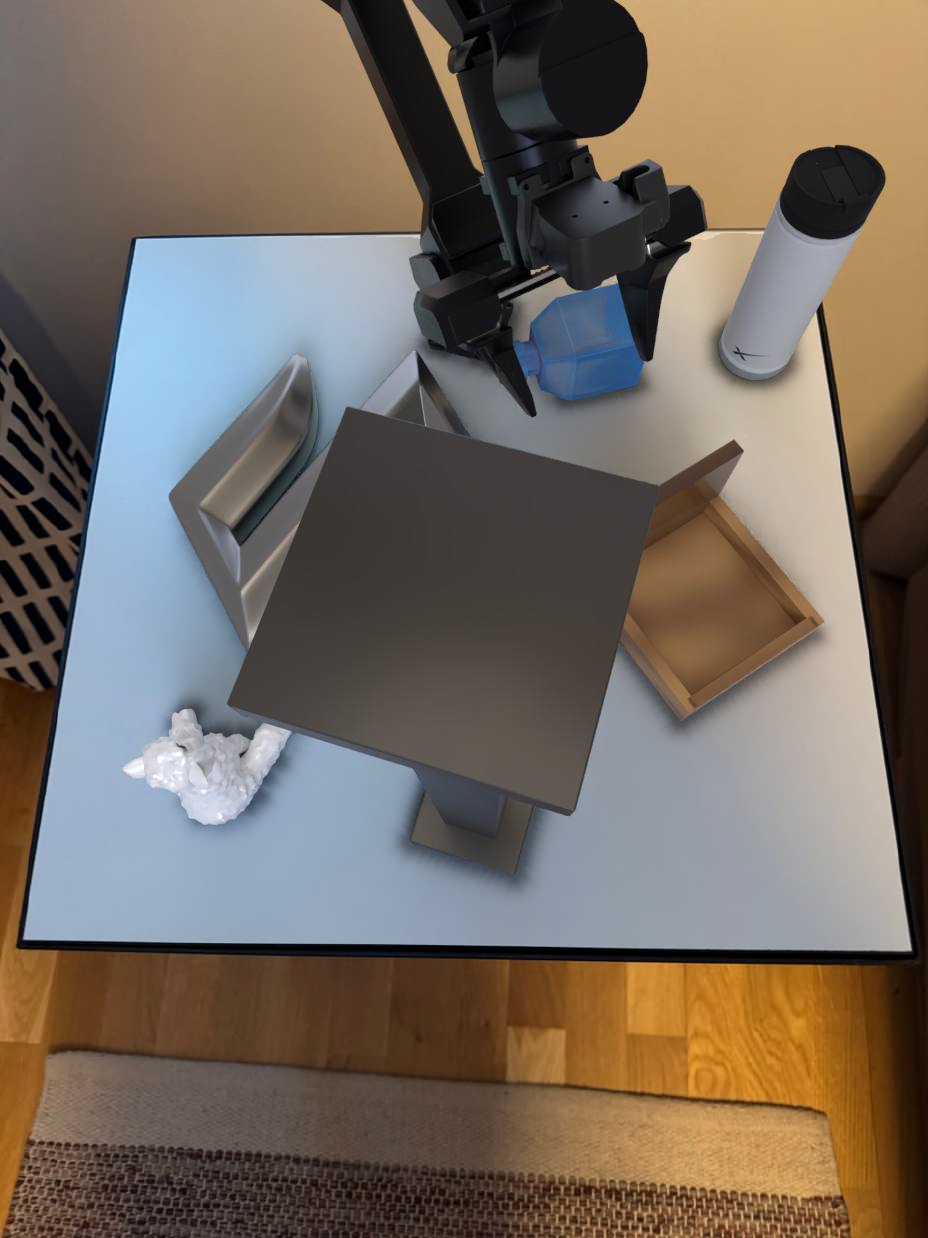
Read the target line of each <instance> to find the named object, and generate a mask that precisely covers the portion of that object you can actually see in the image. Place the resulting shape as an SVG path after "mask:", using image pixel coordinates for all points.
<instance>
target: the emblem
mask: <svg viewBox="0 0 928 1238" xmlns="http://www.w3.org/2000/svg"><path fill="white" fill-rule="evenodd" d="M318 406H319V405H318V398H317V391H316V385H315V380H314V375H313V372H312V367H311V365H310V362H309V359H308V357H307V356H305V355H302V354H300V353H295V354H293V355H292V356H291V357H290V358H289V359H288V360H287V361H286V362H285V364H283V366H282V367H281V368H280V370H278V371H277V373H276V374H275V376H273V378H272V379H271V380H270V381H269V383H267V385H266V386H265V387H264V388H263V389H262V390H261V391H260V392H259V393H258V394H257V396H255V398H254V399H253V400H252V401H251V402H250V403H249V404H248V405H247V406H246V407H245V408H244V409H243V410H242V411H241V413H240V414H239V415H238V416H237V417H236V418H235V419H234V420H233V421H232V422H231V424H230V425H229V426H228V427H227V428H226V429H225V430H224V431H223V432H222V433H221V435H219V437H218V438H217V439H216V440H215V441H214V442H213V443H212V445H211V446H210V447H208V449H207V450H206V451H205V452H204V453H203V455H201V457H200V458H199V459H198V460H197V461H196V462H195V463H194V465H192V467H191V468H190V469H189V470H188V471H187V472H186V473H185V474H184V475H183V477H182V478H181V479H180V480H179V481H178V482H177V483H176V484H175V485H174V486H173V487H172V489H171V490H170V491H169V493H168V501H169V504H170V506H171V508H172V510H173V512H174V514H175V516H176V519H177V520H178V522H179V524H180V526H181V528H182V530H183V532H184V534H185V536H186V538H187V540H188V542H189V543H190V546H191V547H192V550H193V551H194V553H195V555H196V557H197V560H198V561H199V563H200V566H201V567H202V569H203V571H204V572H205V575H206V576H207V578H208V581H209V582H210V585H211V586H212V588H213V590H214V592H215V594H216V596H217V598H218V600H219V602H220V604H221V606H222V608H223V610H224V611H225V613H226V616H227V617H228V619H229V622H230V624H231V625H232V627H233V629H234V631H235V632H236V635H237V636H238V639H239V640H240V642H241V644H242V647H243V648H244V649H245V651H246V653H247V652H248V650H249V647H250V645H251V642H252V640H253V637H254V635H255V632H256V630H257V627H258V625H259V622H260V620H261V617H262V615H263V612H264V610H265V608H266V605H267V603H268V600H269V598H270V595H271V593H272V590H273V588H274V585H275V583H276V580H277V578H278V575H279V573H280V570H281V568H282V565H283V563H284V560H285V558H286V555H287V553H288V550H289V548H290V546H291V543H292V541H293V538H294V536H295V533H296V531H297V528H298V526H299V523H300V521H301V518H302V516H303V513H304V511H305V508H306V506H307V503H308V501H309V498H310V496H311V493H312V491H313V489H314V486H315V484H316V481H317V479H318V476H319V474H320V471H321V469H322V466H323V464H324V461H325V459H326V456H327V454H328V451H329V449H330V446H331V444H332V441H333V439H334V436H333V437H332V438H331V440H330V441H329V442H328V443H327V444H326V445H325V447H324V448H323V449H322V450H321V451H320V452H319V453H318V454H317V456H316V457H315V458H314V459H313V460H312V461H311V462H310V463H309V465H308V466H307V467H306V468H305V469H304V470H303V472H302V473H301V474H299V473H300V471H301V470H302V469H303V467H304V466H305V464H306V462H307V461H308V459H309V457H310V455H311V453H312V452H313V451H312V450H313V448H314V445H315V442H316V439H317V438H316V437H317V433H318V426H319V407H318ZM358 409H361V410H365V411H369V412H373V413H377V414H380V415H384V416H388V417H392V418H396V419H400V420H404V421H408V422H412V423H416V424H420V425H424V426H428V427H432V428H435V429H439V430H443V431H447V432H451V433H455V434H459V435H463V436H467V437H471V438H472V436H471V435H470V433H469V431H468V430H467V428H466V427H465V425H464V424H463V422H462V420H461V419H460V417H459V415H458V414H457V412H456V411H455V409H454V408H453V405H452V404H451V403H450V401H449V399H448V398H447V396H446V394H445V393H444V391H443V389H442V388H441V386H440V385H439V383H438V382H437V380H436V378H435V376H434V375H433V373H432V372H431V370H430V368H429V367H428V365H427V364H426V362H425V360H424V359H423V358H422V355H420V353H419V352H418V350H417V349H413V350H411V351H410V352H409V353H408V354H407V355H406V356H405V357H404V359H403V360H401V362H400V363H399V364H398V365H397V366H396V367H395V368H394V370H393V371H392V372H390V373H389V375H388V376H387V377H386V378H385V380H384V381H383V382H382V383H380V385H379V386H378V387H377V389H375V391H374V392H373V393H372V394H371V395H370V396H369V397H368V398H367V400H365V402H364V403H363V404H362V405H361V406H360V407H359V408H358ZM298 474H299V476H298ZM297 476H298V477H297ZM296 477H297V478H296ZM295 478H296V480H295ZM294 480H295V481H294ZM293 481H294V482H293ZM292 482H293V483H292ZM289 486H290V487H289ZM283 493H284V494H283Z"/></svg>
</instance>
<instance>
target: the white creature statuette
mask: <svg viewBox="0 0 928 1238" xmlns="http://www.w3.org/2000/svg"><path fill="white" fill-rule="evenodd" d="M254 732H255V733H254V735H253V739H249V738H248V737H246V736H244V735H242V734H241V733H233V734H231V735H230V736H228V737H227V736H224V733H222V732H219V733H214V732H210V733H208V734H206V735H204V732H203V727H202V725H201V724H199V722H198V718H197V715H196V712H195V710H194V709H193V708H185V709H182V710H180V711H179V713H178V712H176V711H175V712H173V713H172V716H171V728H170V729H169V730H168V735H169V736H158V737H157V738H155V739H153V740H151V741H149V742H147V743H145V744H143V747H142V748H141V751H140V752H141V754H142V756H140V757H137V758H135V759H132V760H130V761H129V762H127V763H125V764H124V765H123V767H122V771H123V773H125V774H127V775H128V776H130V778H132V779H135V780H140V779H144V778H145V781H146V783H147V785H149V787H151V788H152V789H156V788H160V789H164V790H167V791H169V792H170V793H172V794H176V795H177V796H178V798H179V800H180V805H181V807H182V808H184V809H185V812H186V814H187V816H188V819H190V820H191V819H192V820H195V821H197V822H198V823H201V824H202V825H203V826H206V825H207V826H208V825H213V826H218V825H224V824H226V823H227V822H228V821H230V820H235V819H237V817H238V816H239V814H240V813H242V812H244V811H245V810H246V808H247V807H248V806H249V805H250V803H251V801H253V799H254V795H255V794H257V793H258V791H259V789H260V788H261V787H260V786H261V785H262V784H264V783H263V780H264V779H265V777H266V776H268V775H269V772H270V771H271V769H272V767H273V765H275V764H276V762H277V760H278V759H279V757H280V756H281V751H282V750H283V749H285V748H286V745H287V740H288V739H289V737H290V736H291V735H292V733H293V732H292V731H289V730H285V729H282V728H279V727H276V726H272V725H269V724H266V723H263V722H262V724H260V726H259V727H258V728H257V729H255V731H254Z"/></svg>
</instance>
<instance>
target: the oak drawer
mask: <svg viewBox="0 0 928 1238" xmlns="http://www.w3.org/2000/svg"><path fill="white" fill-rule="evenodd" d="M744 452H745V450H744V449H743V448H742V447H741V445H740V444H739V443H738V442H737V441H736V439H732V440H730V441H728V442H727V443H725V444H723V445H722V446H721V447H719V448H717V449H716V450H714V451H712V452H711V453H709V454H707V455H706V456H704V457H703V458H701V459H700V460H698V461H696V462H695V463H693V464H692V465H689V466H688V467H687V468H685V469H683V470H681V471H680V472H679V473H677V474H675V475H674V476H672V477H670V478H669V479H667V480H665V481H664V482H663V483H661V484H660V485H659V487H660V488H659V492H658V496H657V500H656V503H655V507H654V511H653V515H652V519H651V523H650V526H649V530H648V534H647V538H646V542H645V546H644V549H643V553H642V557H641V561H640V565H639V569H638V572H637V576H636V580H635V584H634V588H633V592H632V596H631V599H630V603H629V607H628V611H627V615H626V619H625V622H624V626H623V630H622V634H621V638H620V642H619V643H621V645H622V646H623V647H624V648H625V650H626V652H628V654H629V655H630V657H631V658H632V659H633V661H634V662H635V663H636V664H637V666H638V667H639V668H640V670H641V671H642V673H643V674H644V676H645V677H646V678H647V679H648V681H649V682H650V683H651V685H652V686H653V687H654V689H655V690H656V691H657V692H658V694H659V695H660V696H661V698H662V700H663V701H664V702H665V703H666V704H667V706H668V707H669V709H670V710H671V711H672V713H673V714H674V715H675V716H676V719H678V721H679V722H682V721H684V720H685V719H686V718H689V717H690V716H691V715H693V714H694V713H696V712H698V711H699V710H700V709H701V708H703V707H704V706H706V705H708V704H709V703H710V702H712V701H713V700H715V699H716V698H717V697H719V696H720V695H722V694H723V693H725V692H726V691H728V690H729V689H731V688H732V687H734V686H735V685H737V684H738V683H740V682H741V681H743V680H744V679H746V678H747V677H749V676H750V675H751V674H753V673H755V672H756V671H758V670H759V669H760V668H762V667H763V666H765V665H766V664H768V663H769V662H771V661H772V660H774V659H775V658H777V657H778V656H780V655H781V654H783V653H784V652H786V651H787V650H788V649H790V648H791V647H793V646H794V645H796V644H798V643H799V642H801V641H802V640H803V639H805V638H806V637H808V636H810V635H811V634H812V633H813V632H815V631H816V630H817V629H818V628H819V627H820V626H822V625H824V624H825V619H823V617H822V616H821V615H820V614H819V613H818V611H817V610H816V609H815V608H814V607H813V605H812V604H811V603H810V602H809V600H807V598H806V597H805V596H804V594H802V592H801V591H800V590H799V589H798V587H797V586H796V585H795V584H794V583H793V582H792V581H791V579H790V578H789V577H788V576H787V574H785V572H784V570H782V569H781V567H780V566H779V565H778V564H777V563H776V561H775V560H774V558H772V557H771V555H770V554H769V553H768V552H767V550H765V548H764V547H763V546H762V544H760V542H759V541H758V540H757V539H756V538H755V536H754V535H753V533H752V532H751V531H750V530H749V529H748V528H747V527H746V526H745V525H744V523H743V522H742V521H741V519H739V517H738V516H737V515H736V514H735V513H734V512H733V510H732V509H731V508H730V507H729V506H728V504H727V503H726V502H725V500H723V498H722V497H721V496H720V495H721V493H722V491H723V490H724V488H725V486H726V484H727V483H728V481H729V480H730V477H731V476H732V473H733V472H734V470H735V468H736V467H737V465H738V463H739V461H740V460H741V458H742V456H743V454H744Z"/></svg>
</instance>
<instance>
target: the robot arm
mask: <svg viewBox="0 0 928 1238" xmlns="http://www.w3.org/2000/svg"><path fill="white" fill-rule="evenodd" d="M320 1H321V2H322V3H324V4H325V5H326V6H328V7H329V8H331V9H332V10H333V11H335V12H336V13H338V14H339V15H340V17H341V19H342V21H343V24H344V25H345V28H346V30H347V33H348V35H349V37H350V39H351V41H352V44H353V46H354V48H355V50H356V53H357V55H358V58H359V60H360V62H361V64H362V67H363V69H364V71H365V73H366V76H367V79H368V80H369V82H370V85H371V87H372V88H373V92H374V94H375V97H376V98H377V100H378V103H379V104H380V107H381V109H382V112H383V115H384V117H385V119H386V122H387V123H388V126H389V129H390V130H391V132H392V135H393V137H394V139H395V141H396V144H397V146H398V148H399V151H400V153H401V155H402V158H403V160H404V162H405V164H406V167H407V169H408V171H409V174H410V177H411V178H412V181H413V183H414V184H415V187H416V190H417V192H418V194H419V196H420V199H421V202H422V209H421V210H422V212H421V224H420V233H419V234H420V235H419V246H420V249H421V251H422V252H419V253H417V254H415V255H413V256H411V257H408V262H409V266H410V270H411V273H412V277H413V280H414V283H415V284H416V286H417V287H418V289H419V290H417V291H416V293H415V296H414V300H413V303H412V307H413V314H414V316H415V319H416V322H417V324H418V328H419V330H420V332H421V336H423V337H425V338H427V345H428V347H429V348H430V349H432V350H433V349H434V350H437V351H442V352H446V353H447V354H450V355H454V356H455V355H456V356H459V357H464V358H467V359H475V360H478V361H481V362H482V361H483V362H484V364H485V365H486V366H487V367H488V368H489V369H490V370H491V372H492V373H493V374H494V375H495V376H496V378H497V379H498V381H499V380H500V382H501V383H502V384H501V385H502V386H503V387H504V388H505V390H506V391H507V392H508V393H509V394H510V396H511V397H512V398H513V400H514V401H515V402H516V403H517V405H518V406H519V407H520V409H522V411H523V412H524V413H525V415H526V416H528V417H530V418H531V419H533V418H535V417H537V416H538V412H537V407H536V404H535V400H534V396H533V393H532V391H531V387H530V386H529V383H528V379H527V380H526V378H525V375H524V373H523V370H522V367H521V365H520V362H519V360H518V357H517V355H516V352H515V349H514V346H513V341H514V329H513V326H510V322H511V320H512V317H513V314H514V311H515V305H514V303H513V301H512V300H514V299H516V298H519V297H521V296H523V295H525V294H527V293H530V292H532V291H534V290H537V289H538V288H542V287H543V286H544V285H547V284H549V283H551V282H554V281H556V280H558V279H560V278H562V279H563V280H564V282H565V283H566V285H567V286H568V287H569V288H571V289H572V290H574V291H578V292H582V291H587V290H591V289H595V288H599V287H601V285H602V283H603V282H604V281H606V280H608V279H610V278H613V277H616V282H617V283H618V285H619V289H620V293H621V296H622V300H623V304H624V308H625V312H626V315H627V319H628V323H629V327H630V331H631V334H632V338H633V341H634V344H635V346H636V349H637V351H638V354H639V356H640V359H641V360H642V361H644V363H645V362H646V363H649V362H651V361H653V359H654V355H655V347H656V340H657V334H658V327H659V320H660V313H661V305H662V300H663V296H664V292H665V287H666V284H667V279H668V277H669V274H670V273H671V271H672V270H673V268H674V267H675V265H676V264H677V263H678V261H679V259H680V258H681V257H682V256H685V255H686V254H688V253H689V252H690V251H691V248H692V241H688V240H689V239H691V238H693V237H696V236H698V235H700V234H702V233H705V232H706V231H707V229H708V227H709V226H708V221H707V213H706V207H705V201H704V200H703V198H702V197H701V195H700V194H699V192H698V191H697V190H696V189H695V188H694V187H693V186H691V184H667V182H666V178H665V177H666V176H665V174H664V173H665V172H664V168H663V166H662V165H661V164H659V163H657V162H656V161H654V160H652V159H651V158H648V159H645V160H643V161H640V162H638V163H636V164H634V165H631V166H629V167H627V168H625V169H623V170H622V171H621V172H620V174H619V175H617V176H614V177H612V178H610V179H608V180H605V181H603V179H602V177H601V176H600V174H599V173H598V171H597V169H596V165H595V164H596V163H595V161H594V160H595V159H594V157H593V155H592V153H591V152H590V149H589V145H588V144H579V143H578V140H583V139H591V138H598V137H605V136H607V135H610V134H612V133H614V132H615V131H617V129H619V128H621V127H622V126H623V125H625V124H626V123H627V122H628V120H629V118H630V117H631V116H632V115H633V114H634V113H635V111H636V109H637V107H638V105H639V103H640V101H641V99H642V97H643V94H644V90H645V87H646V84H647V79H648V78H647V77H648V69H649V59H648V58H649V57H648V56H649V55H648V47H647V42H646V38H645V35H644V33H643V32H642V31H641V30H640V28H639V26H638V24H637V22H636V20H635V19H634V17H633V16H632V15H631V13H630V12H629V11H628V10H627V9H626V7H625V6H623V5H622V4H621V3H619V2H618V1H616V0H411V2H412V3H413V5H414V6H415V7H416V8H417V10H418V11H419V12H420V13H421V15H423V16H424V18H425V19H426V20H427V21H428V22H429V24H430V25H431V26H432V28H434V29H435V30H436V32H437V33H438V34H439V35H440V37H441V38H442V39H443V40H444V41H445V42H446V43H447V44H448V46H450V48H449V50H448V53H447V60H446V61H447V62H446V65H447V69H448V71H449V73H450V74H451V75H455V77H456V81H457V84H458V87H459V90H460V94H461V98H462V101H463V105H464V109H465V112H466V115H467V118H468V121H469V125H470V129H471V132H472V136H473V139H474V142H475V146H476V149H477V153H478V157H479V159H480V163H481V167H482V171H483V172H482V171H481V170H479V169H478V168H476V166H475V165H474V163H473V161H472V158H471V156H470V154H469V151H468V149H467V146H466V145H465V142H464V140H463V137H462V135H461V132H460V130H459V127H458V125H457V123H456V121H455V118H454V116H453V114H452V111H451V108H450V106H449V105H448V102H447V99H446V98H445V95H444V92H443V89H442V88H441V85H440V83H439V81H438V78H437V76H436V74H435V73H436V72H435V71H434V68H433V66H432V64H431V62H430V59H429V57H428V54H427V52H426V50H425V47H424V45H423V42H422V40H421V38H420V36H419V32H418V31H417V28H416V26H415V24H414V22H413V19H412V17H411V14H410V12H409V9H408V8H407V5H406V2H405V0H320ZM537 270H540V271H537ZM531 271H535V272H534V273H533V274H532V272H531ZM500 382H499V383H500Z"/></svg>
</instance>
